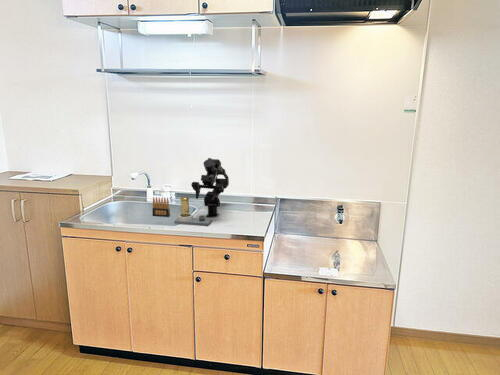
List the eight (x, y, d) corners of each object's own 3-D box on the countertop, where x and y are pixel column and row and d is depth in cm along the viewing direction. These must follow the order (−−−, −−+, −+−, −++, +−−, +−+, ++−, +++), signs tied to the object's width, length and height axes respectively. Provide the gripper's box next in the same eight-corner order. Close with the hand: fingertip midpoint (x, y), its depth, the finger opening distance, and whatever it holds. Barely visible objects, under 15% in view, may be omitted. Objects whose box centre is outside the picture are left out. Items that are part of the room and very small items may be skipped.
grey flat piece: (179, 218, 221) (179, 212, 221) (212, 221, 218) (212, 214, 217) (174, 223, 213) (174, 216, 212) (208, 226, 210) (208, 219, 209)
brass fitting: (189, 218, 218) (189, 196, 215) (188, 220, 214) (188, 198, 211) (182, 218, 218) (181, 196, 215) (180, 220, 214) (180, 198, 211)
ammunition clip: (170, 216, 226) (169, 197, 224) (169, 217, 225) (168, 198, 222) (153, 215, 228) (152, 196, 226) (152, 216, 226) (151, 197, 224)
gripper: (192, 168, 217) (184, 190, 209) (222, 170, 212) (215, 193, 205) (197, 178, 226) (190, 200, 218) (226, 180, 222) (220, 203, 214)
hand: (204, 199), depth 213 cm, fingers open, 9 cm apart
